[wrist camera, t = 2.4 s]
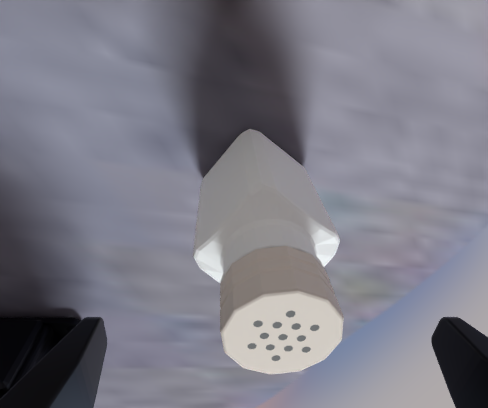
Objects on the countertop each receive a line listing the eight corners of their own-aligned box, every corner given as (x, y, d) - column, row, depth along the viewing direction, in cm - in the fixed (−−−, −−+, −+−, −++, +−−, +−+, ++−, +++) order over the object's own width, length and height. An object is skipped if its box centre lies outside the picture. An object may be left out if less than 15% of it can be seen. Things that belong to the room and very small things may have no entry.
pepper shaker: (310, 169, 17) (393, 324, 9) (257, 223, 18) (286, 400, 10) (248, 119, 16) (278, 249, 7) (196, 181, 17) (172, 348, 9)
